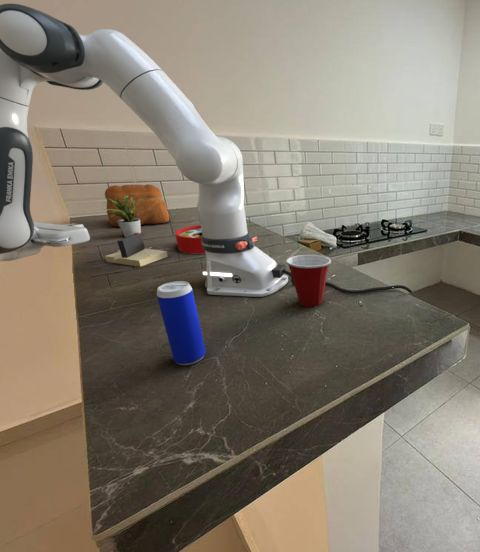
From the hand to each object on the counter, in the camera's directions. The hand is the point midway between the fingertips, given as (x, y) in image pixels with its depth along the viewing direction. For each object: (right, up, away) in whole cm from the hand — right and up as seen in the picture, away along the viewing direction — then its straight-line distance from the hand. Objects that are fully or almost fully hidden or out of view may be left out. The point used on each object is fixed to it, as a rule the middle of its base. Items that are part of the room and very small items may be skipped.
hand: (80, 226), depth 92 cm
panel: (+5, -9, +14) cm, 18 cm away
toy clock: (+19, -3, +31) cm, 36 cm away
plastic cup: (+68, -21, -7) cm, 71 cm away
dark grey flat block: (+4, -7, +14) cm, 16 cm away
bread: (-27, +10, +56) cm, 63 cm away
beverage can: (+51, -30, -31) cm, 67 cm away
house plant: (-17, +2, +38) cm, 42 cm away
